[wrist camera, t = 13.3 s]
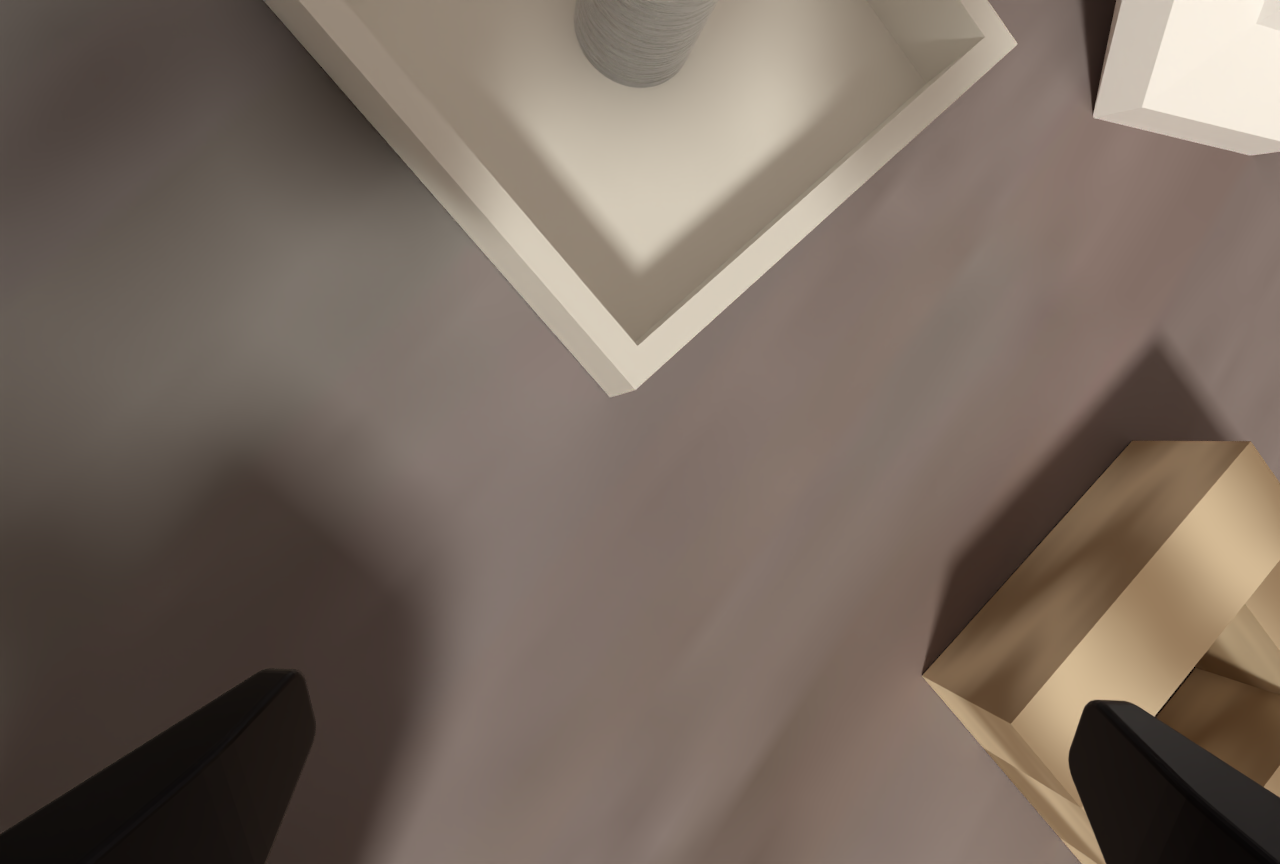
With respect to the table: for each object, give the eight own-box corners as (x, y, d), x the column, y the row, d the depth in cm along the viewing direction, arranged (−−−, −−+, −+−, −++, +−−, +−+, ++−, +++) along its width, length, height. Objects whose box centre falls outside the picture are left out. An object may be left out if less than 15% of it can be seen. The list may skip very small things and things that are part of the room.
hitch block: (1114, 901, 25) (1231, 987, 21) (921, 676, 23) (1010, 724, 19) (1296, 664, 27) (1433, 702, 23) (1132, 440, 25) (1250, 441, 21)
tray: (609, 397, 21) (635, 390, 17) (233, -34, 19) (178, -139, 15) (939, 100, 24) (1017, 44, 20) (647, -307, 21) (679, -449, 18)
